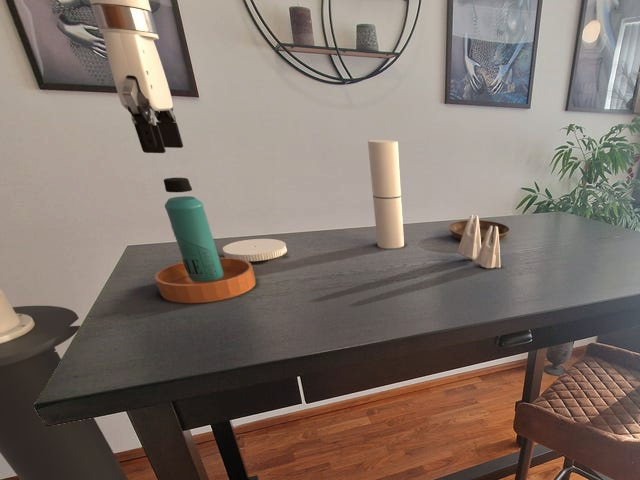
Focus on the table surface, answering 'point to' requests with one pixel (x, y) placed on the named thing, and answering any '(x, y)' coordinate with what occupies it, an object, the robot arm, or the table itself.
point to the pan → (184, 290)
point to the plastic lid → (255, 249)
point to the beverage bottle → (192, 233)
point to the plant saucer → (484, 226)
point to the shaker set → (473, 248)
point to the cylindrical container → (386, 192)
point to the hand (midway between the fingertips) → (164, 149)
